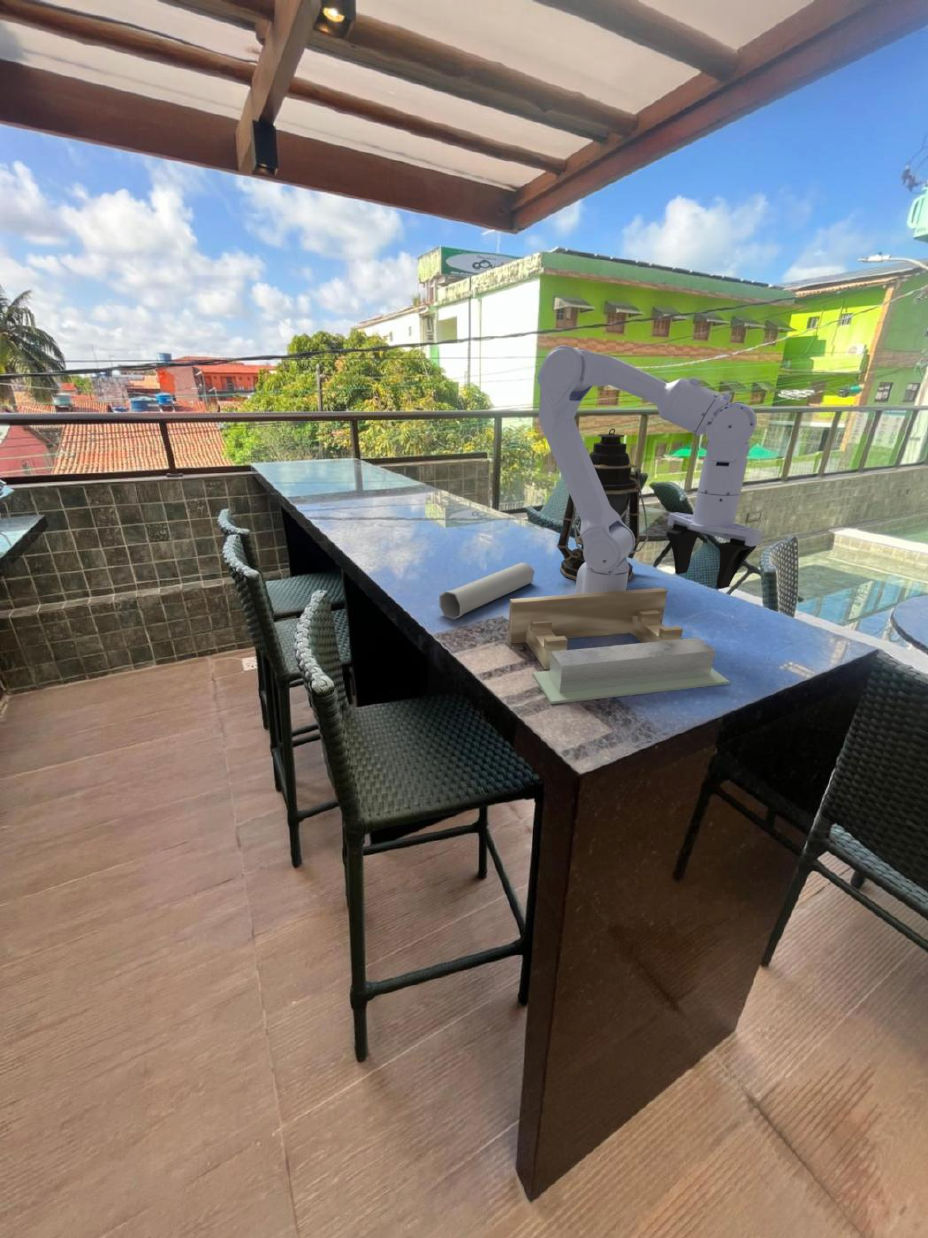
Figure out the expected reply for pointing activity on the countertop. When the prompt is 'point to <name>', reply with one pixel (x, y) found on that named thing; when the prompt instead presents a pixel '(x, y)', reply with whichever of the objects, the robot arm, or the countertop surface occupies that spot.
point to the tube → (484, 590)
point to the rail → (630, 664)
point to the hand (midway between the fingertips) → (701, 579)
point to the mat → (623, 688)
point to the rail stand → (588, 619)
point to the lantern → (616, 485)
